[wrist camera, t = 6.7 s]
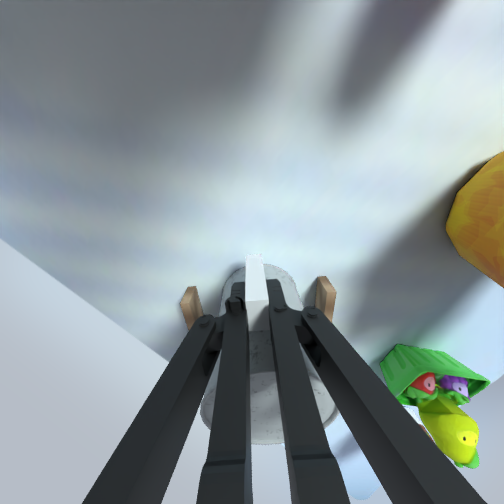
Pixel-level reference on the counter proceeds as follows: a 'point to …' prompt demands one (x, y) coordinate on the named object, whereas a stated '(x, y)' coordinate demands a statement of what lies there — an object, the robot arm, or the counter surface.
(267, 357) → the speckled concrete cylinder
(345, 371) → the robot arm
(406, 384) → the fruit basket
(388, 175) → the counter surface
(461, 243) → the bucket of meat
